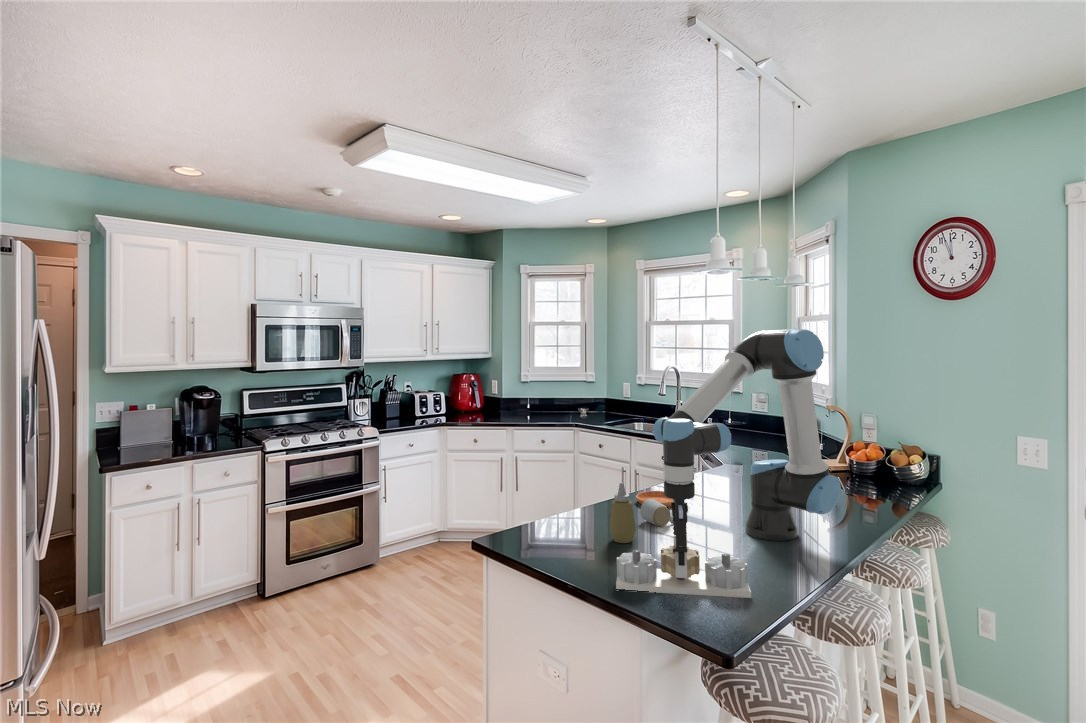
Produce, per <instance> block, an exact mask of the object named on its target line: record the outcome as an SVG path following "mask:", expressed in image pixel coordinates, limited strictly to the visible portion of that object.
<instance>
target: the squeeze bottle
mask: <svg viewBox="0 0 1086 723" xmlns="http://www.w3.org/2000/svg"><path fill="white" fill-rule="evenodd" d="M630 498H631V497H630V494H629V493H627V491H626V487H625V483H624V482H619V485H618V490H617V492H616V493H615V494H614V500H613V501H612V502H611V509H610V510H611V511H610V521H609V522H610V523H609V532H610V534H611V536H612V541H613V542H615V543H619V544H630V543H632V541H633V539H634V537H635V533H636V528H637V527H636V521H635V513H634V506H633V505H634V504H633V502H632V501H631V500H630Z"/></svg>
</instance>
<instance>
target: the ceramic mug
mask: <svg viewBox="0 0 1086 723" xmlns="http://www.w3.org/2000/svg"><path fill="white" fill-rule="evenodd" d="M639 513H640V517H641V518H642V519H643V520H644V521H646V522H648V523H650V524H652V525H654V526H655V527H665V526H666V525H668V523H669V522H670V523H674V522H673V516H672V515H671V511H670V509H669V507H668V508H667V507H666V506H664V505H663V504H661V503H659V502H657V501H656V500H654V499H648V500H646V501H645V502H644V503H643V504H642V505H641V506H640V511H639Z"/></svg>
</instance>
